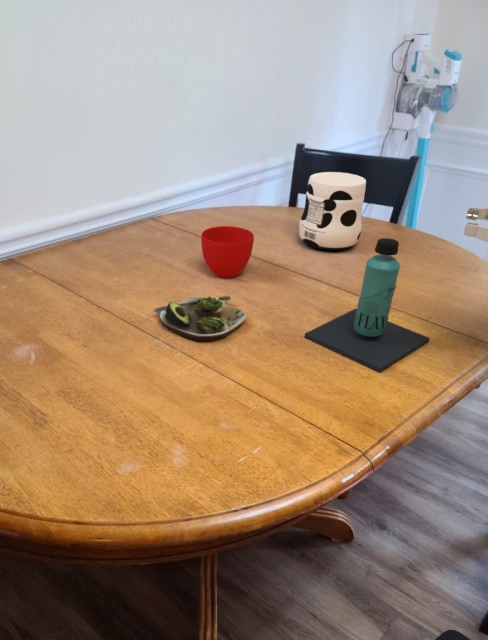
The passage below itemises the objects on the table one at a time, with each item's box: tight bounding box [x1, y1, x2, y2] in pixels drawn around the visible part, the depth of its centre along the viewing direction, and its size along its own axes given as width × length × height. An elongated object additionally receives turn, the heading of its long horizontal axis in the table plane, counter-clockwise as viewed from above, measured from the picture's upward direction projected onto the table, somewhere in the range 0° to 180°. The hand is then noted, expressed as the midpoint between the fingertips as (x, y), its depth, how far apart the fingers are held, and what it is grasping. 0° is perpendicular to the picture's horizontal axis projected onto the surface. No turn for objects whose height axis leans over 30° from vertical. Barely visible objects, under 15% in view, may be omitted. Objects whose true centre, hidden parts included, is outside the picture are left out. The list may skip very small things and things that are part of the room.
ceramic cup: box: [200, 225, 255, 278], centre depth 143 cm, size 13×17×10 cm
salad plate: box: [153, 295, 247, 343], centre depth 122 cm, size 19×18×5 cm
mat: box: [304, 308, 431, 374], centre depth 116 cm, size 18×18×1 cm
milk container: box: [298, 171, 367, 251], centre depth 157 cm, size 17×17×18 cm
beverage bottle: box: [353, 237, 401, 337], centre depth 110 cm, size 6×7×20 cm
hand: (466, 220), depth 97 cm, fingers open, 8 cm apart
